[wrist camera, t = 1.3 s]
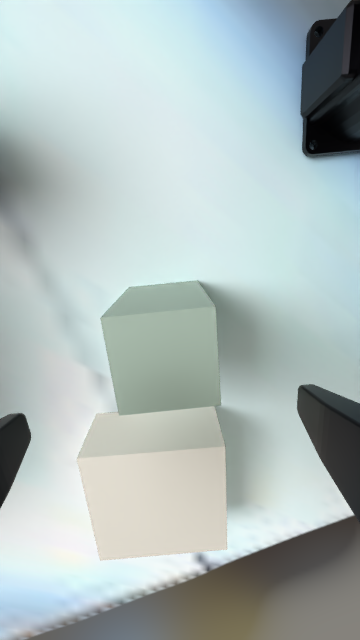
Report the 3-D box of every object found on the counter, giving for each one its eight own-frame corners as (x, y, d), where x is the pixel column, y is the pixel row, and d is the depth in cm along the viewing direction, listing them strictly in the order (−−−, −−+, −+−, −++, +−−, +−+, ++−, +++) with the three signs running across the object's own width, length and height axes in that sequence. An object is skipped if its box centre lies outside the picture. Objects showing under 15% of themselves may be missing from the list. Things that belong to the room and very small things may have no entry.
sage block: (197, 280, 19) (215, 306, 11) (201, 343, 20) (221, 405, 13) (129, 287, 19) (100, 317, 11) (138, 350, 20) (119, 415, 12)
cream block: (213, 402, 22) (225, 446, 17) (216, 490, 25) (227, 549, 20) (97, 411, 22) (76, 458, 17) (113, 499, 25) (100, 560, 20)
